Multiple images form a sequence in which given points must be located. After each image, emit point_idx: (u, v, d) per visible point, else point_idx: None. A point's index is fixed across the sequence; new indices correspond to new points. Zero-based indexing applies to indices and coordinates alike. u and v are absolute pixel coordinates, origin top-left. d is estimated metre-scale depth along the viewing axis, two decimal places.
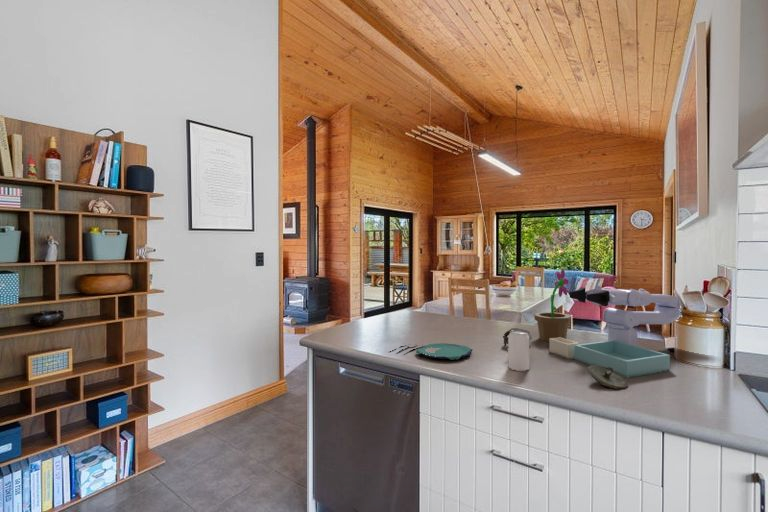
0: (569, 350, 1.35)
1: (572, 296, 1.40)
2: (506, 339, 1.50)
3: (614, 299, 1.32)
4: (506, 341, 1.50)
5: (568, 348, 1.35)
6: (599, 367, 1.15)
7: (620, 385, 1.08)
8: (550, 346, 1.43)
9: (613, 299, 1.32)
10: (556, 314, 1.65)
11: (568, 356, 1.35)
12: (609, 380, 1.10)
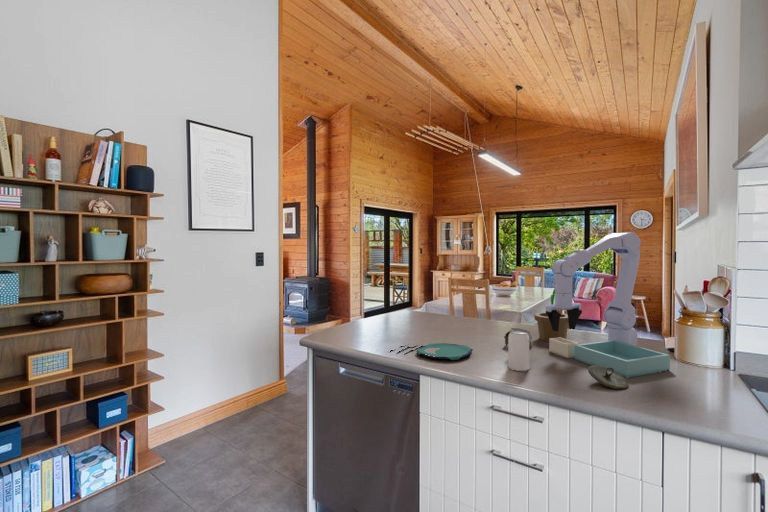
0: (569, 350, 1.35)
1: (572, 327, 1.40)
2: (507, 339, 1.49)
3: (547, 308, 1.37)
4: (507, 341, 1.50)
5: (568, 348, 1.35)
6: (600, 367, 1.15)
7: (621, 385, 1.07)
8: (550, 346, 1.43)
9: (547, 309, 1.37)
10: None
11: (568, 356, 1.35)
12: (610, 380, 1.10)
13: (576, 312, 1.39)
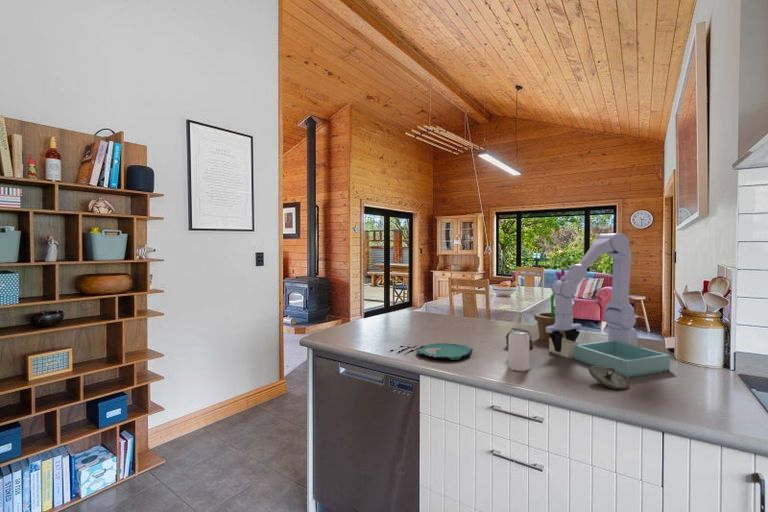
0: (569, 350, 1.35)
1: None
2: None
3: (547, 329, 1.38)
4: None
5: (568, 348, 1.35)
6: (601, 368, 1.14)
7: (622, 386, 1.07)
8: (550, 346, 1.43)
9: (547, 331, 1.38)
10: None
11: (568, 356, 1.35)
12: (610, 381, 1.10)
13: (574, 333, 1.39)
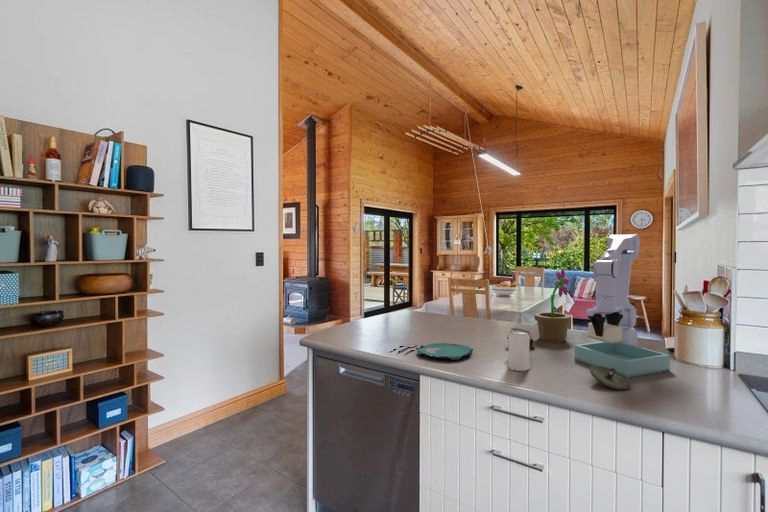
0: (612, 334, 1.26)
1: None
2: None
3: (588, 312, 1.28)
4: None
5: (611, 332, 1.25)
6: (602, 368, 1.14)
7: (623, 386, 1.07)
8: (589, 331, 1.33)
9: (588, 314, 1.28)
10: (556, 314, 1.65)
11: (611, 341, 1.26)
12: (611, 381, 1.09)
13: (617, 316, 1.29)
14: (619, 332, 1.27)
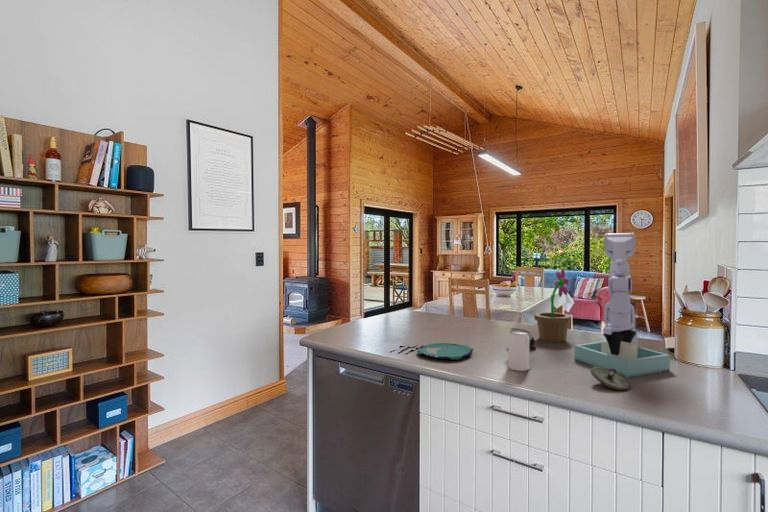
0: (630, 353, 1.23)
1: None
2: None
3: (606, 331, 1.24)
4: None
5: (629, 351, 1.23)
6: (602, 368, 1.14)
7: (624, 386, 1.07)
8: (602, 349, 1.30)
9: (607, 332, 1.24)
10: (556, 314, 1.65)
11: None
12: (612, 381, 1.09)
13: (631, 334, 1.27)
14: (635, 350, 1.24)
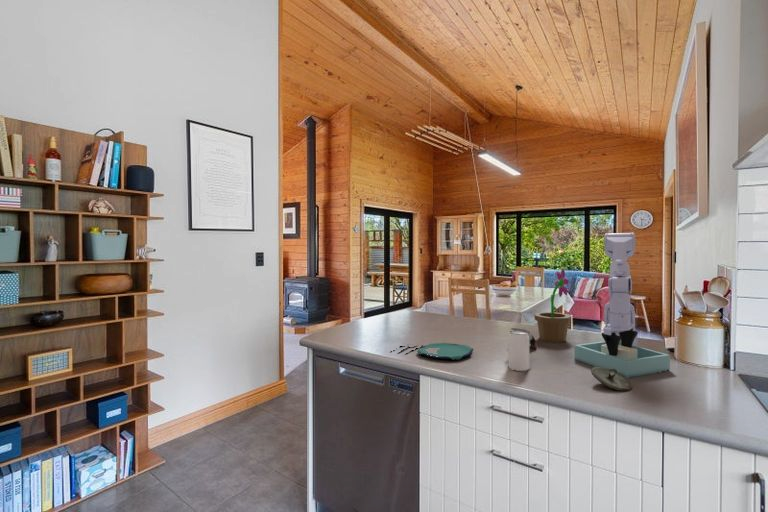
0: (630, 358, 1.23)
1: None
2: None
3: (606, 331, 1.24)
4: None
5: (629, 355, 1.23)
6: (603, 368, 1.14)
7: (624, 387, 1.06)
8: None
9: (607, 333, 1.24)
10: (556, 314, 1.65)
11: None
12: (613, 382, 1.09)
13: (632, 334, 1.27)
14: (635, 354, 1.24)
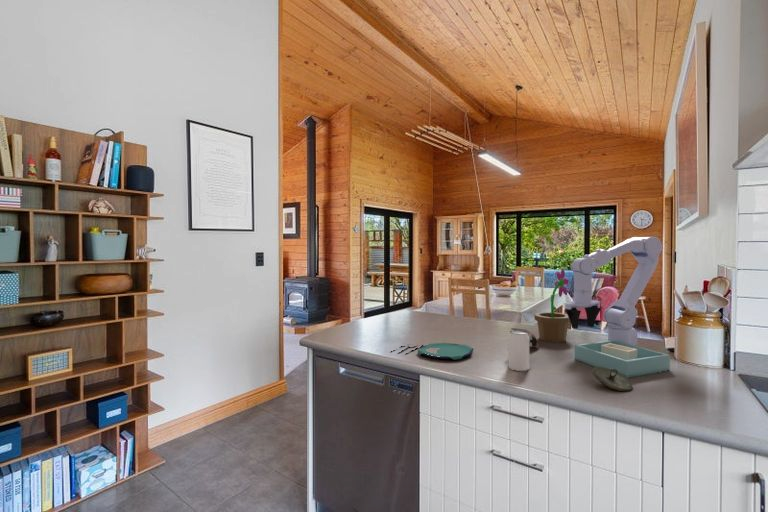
0: (630, 358, 1.23)
1: (591, 325, 1.42)
2: None
3: (567, 306, 1.39)
4: None
5: (629, 355, 1.23)
6: (604, 369, 1.13)
7: (625, 387, 1.06)
8: None
9: (567, 307, 1.39)
10: (556, 314, 1.65)
11: None
12: (614, 382, 1.09)
13: (595, 310, 1.41)
14: (635, 354, 1.24)
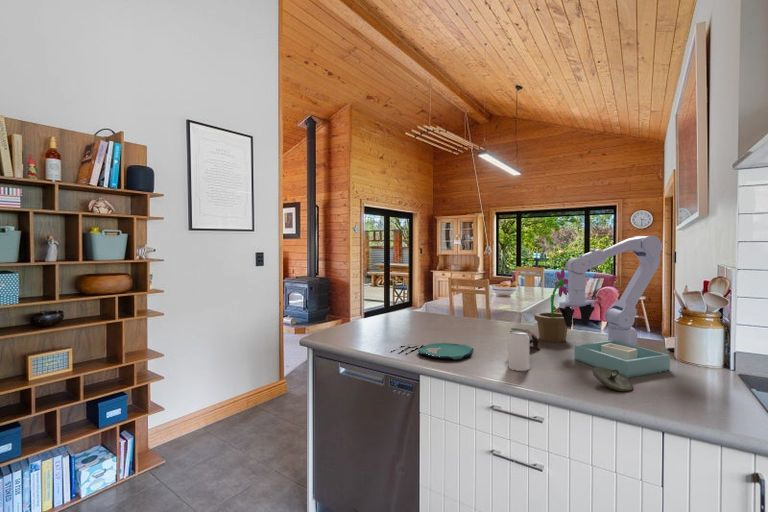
0: (630, 358, 1.23)
1: (585, 323, 1.45)
2: None
3: (561, 305, 1.42)
4: None
5: (629, 355, 1.23)
6: (604, 369, 1.13)
7: (626, 388, 1.06)
8: None
9: (561, 306, 1.42)
10: (556, 314, 1.65)
11: None
12: (614, 382, 1.08)
13: (589, 308, 1.43)
14: (635, 354, 1.24)
